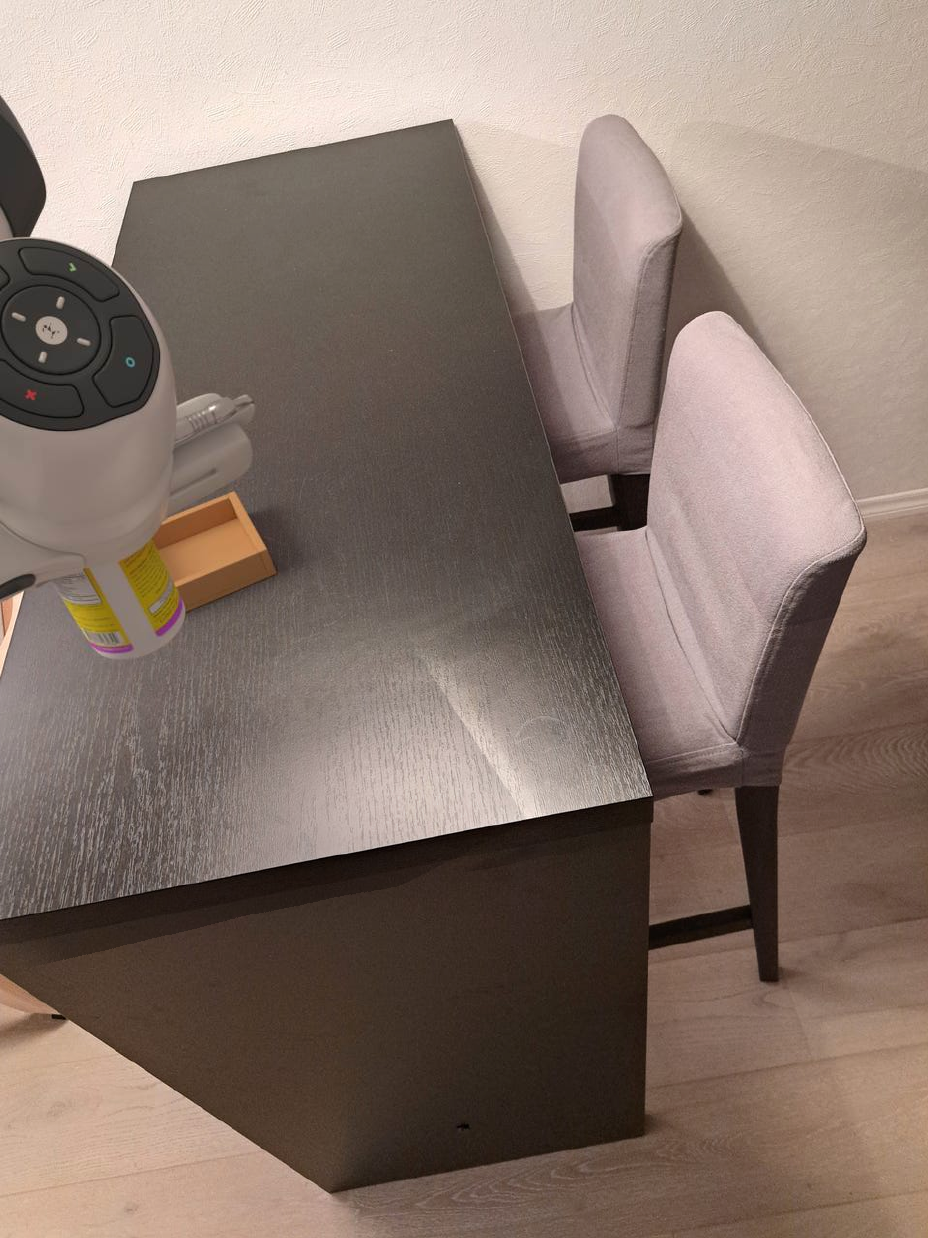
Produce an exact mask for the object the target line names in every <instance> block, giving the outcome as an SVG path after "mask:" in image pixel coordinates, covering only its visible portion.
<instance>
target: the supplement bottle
mask: <svg viewBox="0 0 928 1238" xmlns="http://www.w3.org/2000/svg"><path fill="white" fill-rule="evenodd" d="M50 582H51V583H52V585H53V586H54V588H55V590H56V592H57V593H58V594H59V596H60V597H61V599H62V601H63V603H64V605H65V606H66V607H67V610H68V611H69V613H70V614H71V616H72V617H73V619H74V621H75V622H76V624H77V626H78V627H79V629H80V630H81V632H82V634H83V635H84V637H85V639H86V640H87V642H88V643H89V644H90V646H91V648H92V649H93V650H94V651H95V652H96V653H98V654H99V655H101V656H102V657H104V658H107V659H110V660H114V661H115V660H116V661H126V660H128V661H129V660H134V659H138V658H141V657H144V656H147V655H149V654H151V653H154V652H155V651H158V650H159V649H161V648H162V647H164V646H165V645H167V644H168V643H170V642H171V641H172V640H173V639H174V637H175V636H176V635H177V634H178V633H179V631H180V630H181V628H182V627H183V624H184V622H185V618H186V612H185V606H184V603H183V600H182V598H181V596H180V594H179V592H178V590H177V588H176V586H175V584H174V582H173V580H172V578H171V576H170V574H169V572H168V570H167V568H166V566H165V564H164V562H163V560H162V558H161V556H160V554H159V552H158V550H157V548H156V546H155V544H154V542H153V540H152V538H151V539H150V540H149V541H148V543H147V544H145V545H144V546H143V547H142V548H141V549H139V550H138V551H137V552H135V553H134V554H132V555H130V556H129V557H127V558H125V559H123V560H120V561H118V562H115V563H112V564H109V565H105V566H101V567H94V568H84V569H82V570H81V571H79V572H76V573H73V574H70V575H67V576H63V577H59V578H55V579H51V581H50Z"/></svg>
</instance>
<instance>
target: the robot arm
mask: <svg viewBox="0 0 928 1238" xmlns="http://www.w3.org/2000/svg"><path fill="white" fill-rule="evenodd" d="M44 177H45V176H44V174H43V172H42V169H41V167H40V163H39V161H38V159H37V156H36V154H35V151H34V149H33V147H32V145H31V143H30V141H29V139H28V137H27V135H26V132H25V131H24V128H23V127H22V125H21V123H20V122H19V120H18V118H17V117H16V115H15V114H14V112H13V111H12V109H11V107H10V106H9V104H8V103H7V102H6V100H5V99H4V98H3V96H2V95H1V94H0V604H2V603H4V602H6V601H8V600H10V599H12V598H14V597H15V596H18V595H19V594H21V593H23V592H25V591H27V590H28V592H30V593H31V592H32V591H34V590H36V589H38V588H40V587H42V586H44V585H46V584H47V583H49V582H52V581H51V579H55V578H59V577H63V576H67V575H70V574H73V573H76V572H79V571H81V570H82V569H84V568H94V567H101V566H105V565H109V564H112V563H115V562H118V561H120V560H123V559H125V558H127V557H129V556H130V555H132V554H134V553H135V552H137V551H138V550H139V549H141V548H142V547H143V546H144V545H145V544H147V543H148V541H149V540H150V539H151V538H152V537H153V536H154V535H155V533H156V532H157V531H158V529H159V527H160V526H161V524H162V522H164V521H166V520H167V518H168V516H170V515H172V514H173V513H175V512H178V511H179V510H181V509H183V508H185V507H186V506H188V505H190V504H192V503H194V502H197V501H198V500H200V499H202V498H204V497H205V496H208V495H210V494H211V493H213V492H216V491H217V490H219V489H221V488H223V487H225V486H226V485H229V484H231V483H232V482H235V481H236V480H238V479H239V478H240V477H242V476H244V475H245V473H246V472H248V471H249V470H250V468H251V467H252V463H253V446H252V445H253V444H252V442H251V440H250V438H249V436H248V434H247V433H246V432H245V430H244V428H246V427H247V426H248V424H250V422H251V421H252V420H253V418H254V415H255V412H256V406H255V401H254V399H253V398H251V397H250V396H249V395H248V394H243V395H240V396H239V397H237V398H234V399H231V398H230V397H229V396H225V397H223V396H222V395H220V394H218V393H215V392H212V393H211V392H210V393H205V394H202V395H199V396H196V397H193V398H191V399H188V400H186V401H184V402H182V403H180V404H178V402H177V389H176V381H175V374H174V368H173V363H172V359H171V354H170V350H169V346H168V344H167V341H166V338H165V335H164V333H163V331H162V329H161V327H160V325H159V323H158V321H157V319H156V317H155V316H154V315H153V313H152V311H151V309H150V308H149V307H148V305H147V303H146V302H145V300H143V298H142V296H141V295H139V293H138V292H137V291H136V290H135V289H134V287H132V285H131V284H130V283H129V282H128V281H127V280H126V279H125V278H124V277H123V275H122V274H120V273H119V271H117V270H116V269H114V268H113V267H112V266H111V265H109V264H108V263H107V262H105V261H103V260H102V259H101V258H99V257H97V256H96V255H95V254H92V253H91V252H89V251H87V250H85V249H82V248H80V247H78V246H76V245H73V244H70V243H67V242H64V241H60V240H56V239H51V238H44V237H36V236H34V237H33V236H31V235H32V234H33V232H34V229H35V228H36V226H37V223H38V221H39V219H40V217H41V214H42V212H43V210H44V208H45V206H46V202H47V185H46V180H45V178H44ZM177 404H178V405H177Z"/></svg>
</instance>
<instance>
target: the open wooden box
mask: <svg viewBox="0 0 928 1238" xmlns="http://www.w3.org/2000/svg"><path fill="white" fill-rule="evenodd" d="M152 540H153V542H154V544H155V546H156V548H157V550H158V552H159V554H160V556H161V558H162V560H163V562H164V564H165V566H166V568H167V570H168V572H169V574H170V576H171V578H172V580H173V582H174V584H175V586H176V588H177V590H178V592H179V594H180V596H181V598H182V600H183V603H184V606H185V613H187V612H190V611H193V610H195V609H197V608H200V607H201V606H204V605H206V604H209V603H211V602H213V601H215V600H219V599H220V598H223V597H225V596H228V595H230V594H232V593H234V592H237V591H239V590H241V589H244V588H246V587H249V586H251V585H253V584H255V583H258V582H260V581H263V580H265V579H268V578H270V577H273V576H274V575H277V569H276V568H275V566H274V563H273V560H272V558H271V555H270V553H269V550H268V548H267V546H266V544H265V543H264V541H263V539H262V537H261V536H260V534H259V531H258V530H257V528H256V527H255V524H254V523H253V521H252V519H251V517H250V516H249V514H248V512H247V511H246V509H245V507H244V505H243V504H242V501H241V500H240V498H239V496H238V494H237V492H236V491H234V490H233V491H231V492H228V493H227V494H226V493H225V494H223V495H222V496H219V497H216V498H214V499H211V500H209V501H206V502H204V503H200V504H199V505H196V506H193V507H191V508H189V509H186V510H184V511H181V512H179V513H176V514H173V515H171V516H169V517H168V516H167V520H166V521H164V522H162V524H161V526H160V527H159V529H158V531H157V532H156V533H155V535H154V536H153V537H152Z"/></svg>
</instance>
